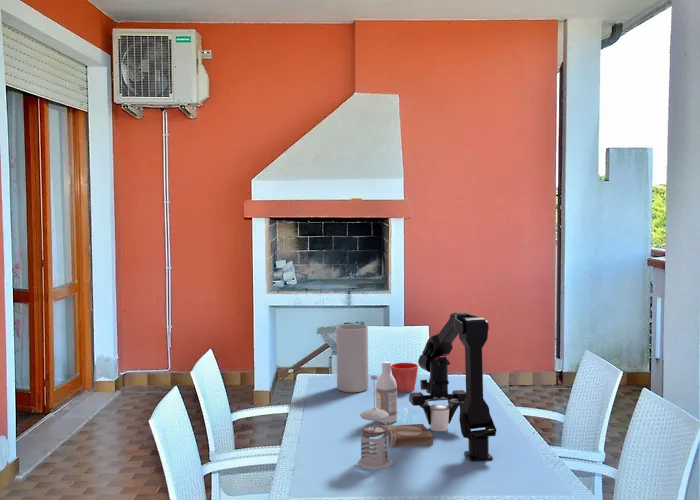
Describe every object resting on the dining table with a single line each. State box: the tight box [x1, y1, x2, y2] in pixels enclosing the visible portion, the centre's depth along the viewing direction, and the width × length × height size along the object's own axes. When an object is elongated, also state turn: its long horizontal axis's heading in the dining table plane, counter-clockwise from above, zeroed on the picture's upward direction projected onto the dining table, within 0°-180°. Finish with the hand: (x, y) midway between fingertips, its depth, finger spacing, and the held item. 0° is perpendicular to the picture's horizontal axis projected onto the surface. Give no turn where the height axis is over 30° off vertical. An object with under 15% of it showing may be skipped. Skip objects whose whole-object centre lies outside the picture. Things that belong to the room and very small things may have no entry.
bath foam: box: [375, 360, 398, 424], centre depth 222 cm, size 7×7×20 cm
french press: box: [357, 374, 396, 470], centre depth 184 cm, size 10×12×25 cm
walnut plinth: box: [386, 423, 434, 448], centre depth 205 cm, size 12×12×3 cm
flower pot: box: [391, 362, 419, 393], centre depth 261 cm, size 11×11×10 cm
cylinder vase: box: [335, 323, 369, 393], centre depth 263 cm, size 12×12×25 cm
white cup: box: [429, 404, 450, 432], centre depth 214 cm, size 7×7×7 cm
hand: (439, 423), depth 214 cm, fingers closed on white cup, 6 cm apart
